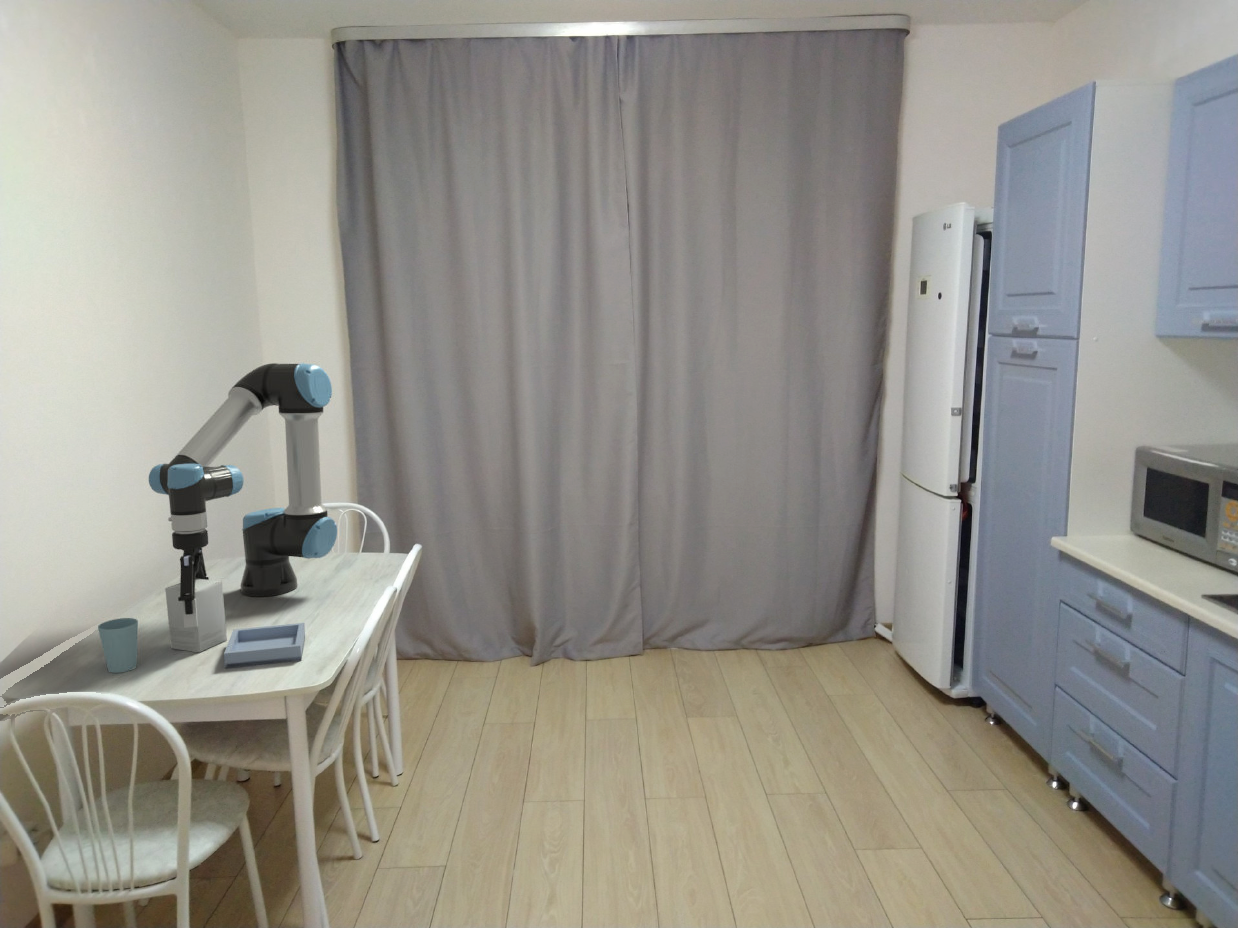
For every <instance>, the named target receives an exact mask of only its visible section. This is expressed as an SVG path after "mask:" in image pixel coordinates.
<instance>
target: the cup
mask: <svg viewBox="0 0 1238 928" xmlns="http://www.w3.org/2000/svg"><path fill="white" fill-rule="evenodd" d="M138 628H139V619H137V618H133V617H121V618H114V619H111V620H107V621H104V622H102V623H100V624H98V626H97V629H98V630H97V631H98V633H99V638H100V641H101V647H102V650H103V654H104V659H105V663H106V667H107V670H108V672H109V673H112V674H120V673H126V672H130V671H131V670H134V669H135V668H136V667H137V663H138V661H137V660H138V656H137V655H138Z"/></svg>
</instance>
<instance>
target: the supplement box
mask: <svg viewBox="0 0 1238 928" xmlns="http://www.w3.org/2000/svg"><path fill="white" fill-rule="evenodd" d="M223 588H224V587H223V581H222V580H213V579H209V580H204V579H196V580H195V598H196V608H197V622H198V626H197V627H187V628H184V616H183V604H182V601H178V597H180V582H179V583H176V584H174V585H173V584H172V585H171V586H167V587H165V589H164V590H165V599H166V606H167V607H166V609H167V619H168V628H169V637H170V647H171V649H172V650H174V649H175V650H181V651H185V652H186V651H188V652H194V653H202V652H203V651H206V650H208V649H210V648H212V647H214V646H216V645H219V644H221V643H223V642H225V641H227V640H228V636H227V625H226V614H225V603H224V591H223ZM186 595H187V594H186ZM195 598H194V599H195Z"/></svg>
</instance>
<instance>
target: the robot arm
mask: <svg viewBox="0 0 1238 928" xmlns="http://www.w3.org/2000/svg"><path fill="white" fill-rule="evenodd" d="M332 392H333V388H332V382H331V379H330V377H329V375H328V373H327V372H326V371H325V370H324V369H323V368H322V367H321V366H319V365H317V364H313V363H312V364H311V363H304V362H303V363H268V364H264V365H260V366H258V367H256V368H255V369H253V370H251V371H250V372H248V373H246V374H245V375H244V376H243V377H241V378H240V380H238V381H237V382H236V383H235V384H234V385H233V386H232V387H231V388H230V390H229V391H228V393H227V396H228V398H227V399H226V400H225V401H224V402H223V403H222V404H221V405H220V406H219V407H218V409H217V410H216V411H215V412H214V413H213V414H212V415H211V416H210V417H209V418H208V420H207V421H206V422H205V423H204V424H203V425H202V426H201V427H200V429H199V430H198V431H197V432H196V433H194V435H193V437H191V439H189V440H188V441H187V443H186V444H185V445H184V447H182V448H181V450H180V451H179V452H178V453H177V454H175V456H174V458H172V460H171V461H170V462H169V463H161V464H160V463H159V464H156V465H154V466H153V467H151V468H152V469H150V472H149V474H148V484H149V487H150V488H151V489H152V491H153V492H154V493H157V494H160V495H165V496H168V499H169V501H168V502H169V511H170V517H168V519H167V520H168V521H169V522H171V524H170V525H171V531H173V532H172V533H171V540H172V547H173V548H174V549H176V550H181V551H183V554H182V556H180V558H179V562H180V579H179V580H180V582H179V583H180V597H178V601H182V604H183V616H184V628H187V627H197V626H198V622H197V608H196V598H195V580H196V579H204V580H210V578H209V577H210V576H208V575H207V571H206V565H205V559H204V554H203V548H204V547H206V546H208V545H209V533H208V530H207V529H206V528H208V517H207V505H206V504H207V503H206V502H209V501H212V500H217V499H222V498H225V497H226V498H228V497H231V496H233V495H236V494H238V493H239V492H240V491H241V490H242V489H243V486H244V476H243V473H242V471H241V470H240V469H239V468H238V467H237V466H235V465H233V464H232V465H231V464H226V465H225V464H222V465H220V466H211V464H212V463H213V462H214V461H215V459H216V458H217V457H218V456H219V455H220V454H221V452H223V451H224V449H225V448H226V447H227V445H228V444H230V442H231V441H232V439H233V438H234V437H235V436H236V435H237V434H238V433H239V432H240V431H241V429H242V428H243V427H244V426H245V425H246V423H247V422H248V421H249V420H250V418H251V417H252V416H257V415H259V414H260V413H261V412H262V411H263V410H264V409H266V408H268V407H271V406H272V407H273V406H278V414H279V415H280V416H281V417H282V418H283V419H284V424H285V446H286V448H285V450H286V467H287V468H286V470H287V474H286V475H287V489H288V505H287V506H286V508H285V507H273V508H266V509H260V510H255V511H252V512H248V513H246V514H245V515H244V517H242V530H241V531H242V538H243V549H244V559H245V560H244V561H245V567H244V571H243V575H242V578H241V580H240V593H241V594H242V595H245V596H248V597H269V596H271V597H272V596H277V595H283V594H286V593H288V592H289V593H290V592H291V591H294V590H295V589H297V587H298V578H297V576H296V572H295V571H294V569H293V567H292V564H291V562H290V557H293V558H302V559H303V558H304V559H307V560H309V559H321V558H323V557H326V556H327V555H328V554H329V553H330V552H331V551H332V550H333V547H334V546H335V543H336V541H337V538H338V525H337V523H336V521H335V520H334V519H333V518H331V517H330V516H329V514H328V508H327V507H326V506H325V505H324V504H323V503H322V490H321V489H322V485H321V482H322V481H321V466H320V465H321V463H320V462H321V459H320V441H319V440H320V435H319V418H320V417H321V416H322V415H323V414H324V407H325V406H327V405H329V403H330V402H331V400H330V399H331V398H332V395H333V393H332ZM186 594H187V595H186ZM194 598H195V599H194Z"/></svg>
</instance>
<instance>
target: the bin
mask: <svg viewBox="0 0 1238 928" xmlns="http://www.w3.org/2000/svg"><path fill="white" fill-rule="evenodd" d="M305 640H306V625H305V622H301V623H299V622H298V623H297V622H296V623H288V624H287V623H286V624H277V625H266V626H259V627H258V626H257V627H246V628H236V629H235V628H234V629H232V632H231V635H230V637H229V639H228V643H227V645H226V648H225V649H224V653H223V657H224V661H223V662H224V669H226V670H227V669H234V668H242V667H251V666H252V667H253V666H262V665H270V664H272V665H273V664H279V663H280V664H281V663H287V662H288V663H290V662H299V661H302V658H303V653H304V647H305Z"/></svg>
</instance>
